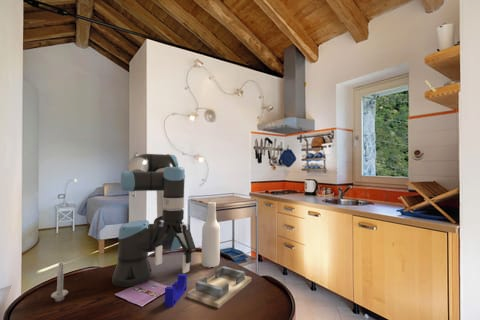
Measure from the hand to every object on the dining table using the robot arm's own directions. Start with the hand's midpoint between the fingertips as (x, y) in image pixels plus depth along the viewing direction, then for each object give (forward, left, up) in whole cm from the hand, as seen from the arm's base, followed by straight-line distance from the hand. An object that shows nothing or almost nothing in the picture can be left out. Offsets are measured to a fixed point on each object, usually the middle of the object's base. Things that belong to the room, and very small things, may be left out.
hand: (171, 268), depth 91 cm
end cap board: (+12, +15, -10) cm, 22 cm away
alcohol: (-6, +32, -11) cm, 35 cm away
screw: (-31, -22, -11) cm, 40 cm away
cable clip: (+1, +1, -11) cm, 11 cm away
